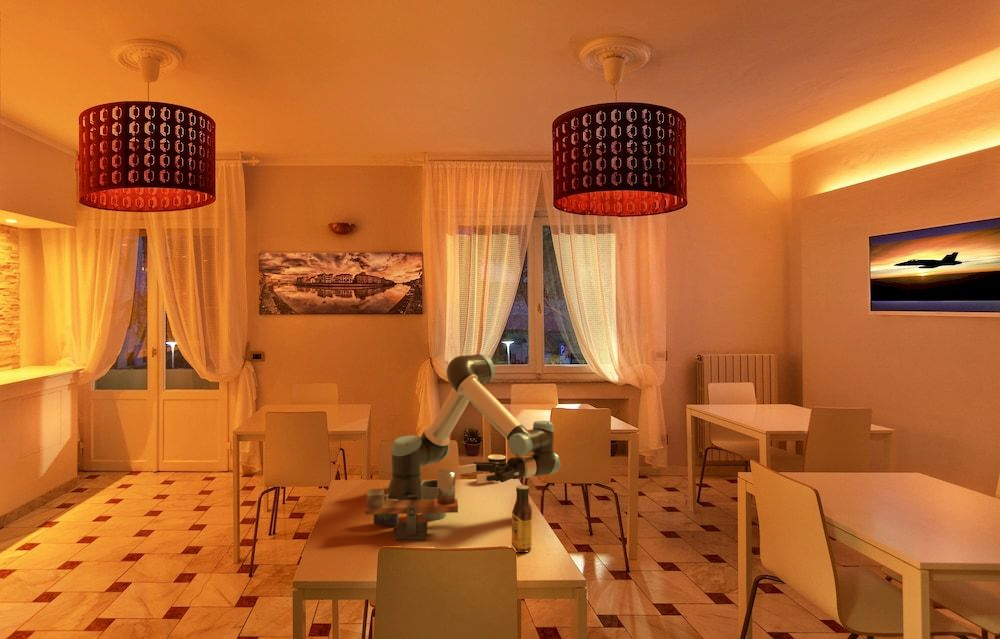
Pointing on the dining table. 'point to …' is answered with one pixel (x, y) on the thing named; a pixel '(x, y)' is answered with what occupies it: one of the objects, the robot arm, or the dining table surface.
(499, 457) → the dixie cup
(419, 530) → the beam stand
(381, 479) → the dining table surface
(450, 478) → the glass jar
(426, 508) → the beam
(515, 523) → the sauce bottle
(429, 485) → the grey cylindrical container
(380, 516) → the flask
